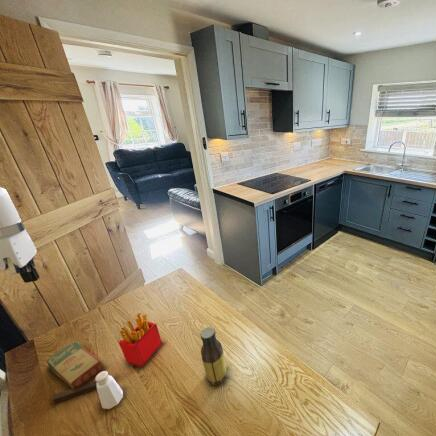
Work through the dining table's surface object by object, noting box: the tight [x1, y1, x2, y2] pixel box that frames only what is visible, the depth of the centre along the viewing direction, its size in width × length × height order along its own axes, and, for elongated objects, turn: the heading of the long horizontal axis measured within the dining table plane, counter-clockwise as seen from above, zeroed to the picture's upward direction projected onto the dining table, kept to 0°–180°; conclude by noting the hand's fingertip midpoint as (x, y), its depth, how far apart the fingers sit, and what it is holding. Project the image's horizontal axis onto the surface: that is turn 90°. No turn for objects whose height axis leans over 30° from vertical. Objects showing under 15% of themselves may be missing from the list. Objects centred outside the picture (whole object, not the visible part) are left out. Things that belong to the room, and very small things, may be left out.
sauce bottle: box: [199, 326, 228, 386], centre depth 72 cm, size 6×6×20 cm
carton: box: [45, 340, 104, 389], centre depth 77 cm, size 8×16×4 cm, turn 63°
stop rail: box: [52, 375, 114, 404], centre depth 71 cm, size 14×2×2 cm, turn 114°
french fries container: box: [118, 312, 163, 368], centre depth 80 cm, size 7×9×14 cm
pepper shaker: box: [94, 370, 124, 410], centre depth 67 cm, size 5×5×11 cm
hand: (32, 280), depth 76 cm, fingers closed
